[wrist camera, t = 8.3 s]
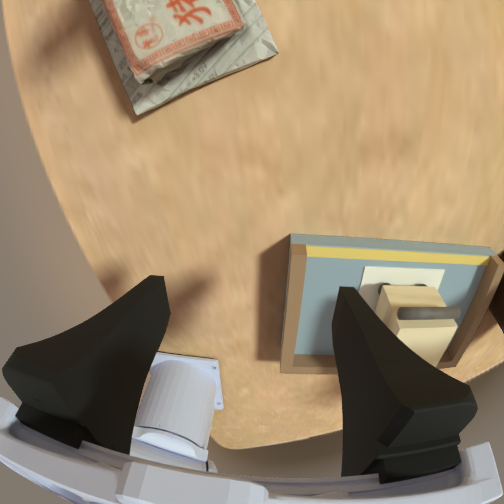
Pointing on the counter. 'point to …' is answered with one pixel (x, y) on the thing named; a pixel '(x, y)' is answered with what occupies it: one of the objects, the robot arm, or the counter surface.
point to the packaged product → (180, 43)
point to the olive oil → (498, 302)
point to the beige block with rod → (418, 318)
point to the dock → (367, 283)
